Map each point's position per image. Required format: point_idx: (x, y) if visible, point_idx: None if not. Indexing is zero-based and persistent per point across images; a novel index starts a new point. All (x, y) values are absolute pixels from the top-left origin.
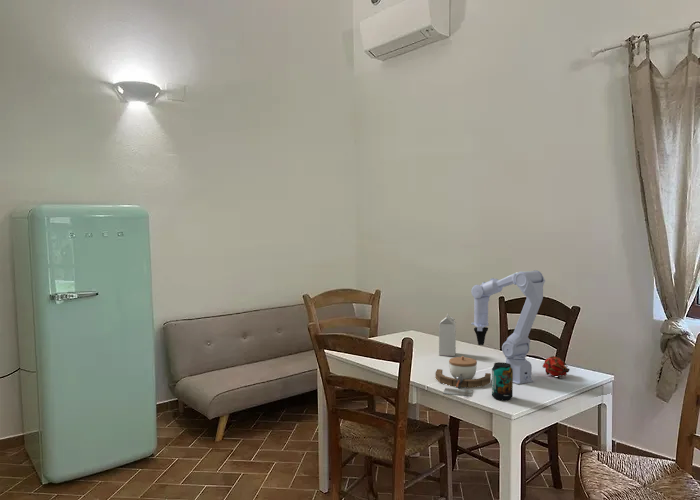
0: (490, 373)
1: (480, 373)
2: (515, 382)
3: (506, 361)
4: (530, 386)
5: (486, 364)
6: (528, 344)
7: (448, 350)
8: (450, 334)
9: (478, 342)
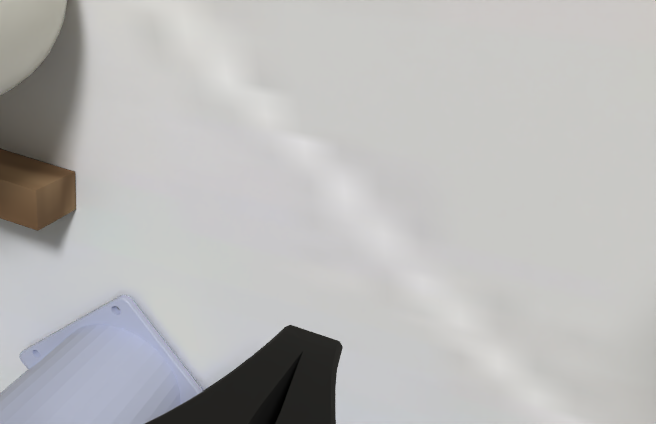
0: (38, 228)
1: (234, 166)
2: (30, 346)
3: (1, 416)
4: None
5: (575, 300)
6: None
7: None
8: None
9: (263, 351)
